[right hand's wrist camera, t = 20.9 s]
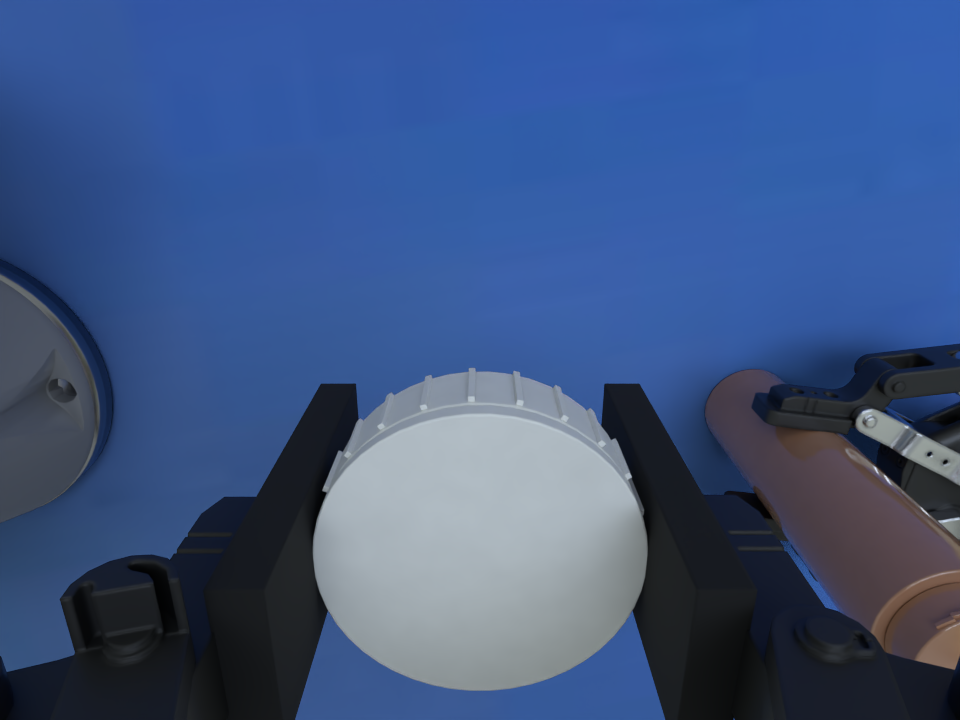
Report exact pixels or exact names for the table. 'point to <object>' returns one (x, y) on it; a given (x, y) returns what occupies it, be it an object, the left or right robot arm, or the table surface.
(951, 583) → the jar
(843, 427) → the left robot arm
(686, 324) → the table surface
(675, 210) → the table surface
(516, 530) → the lid
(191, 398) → the table surface
